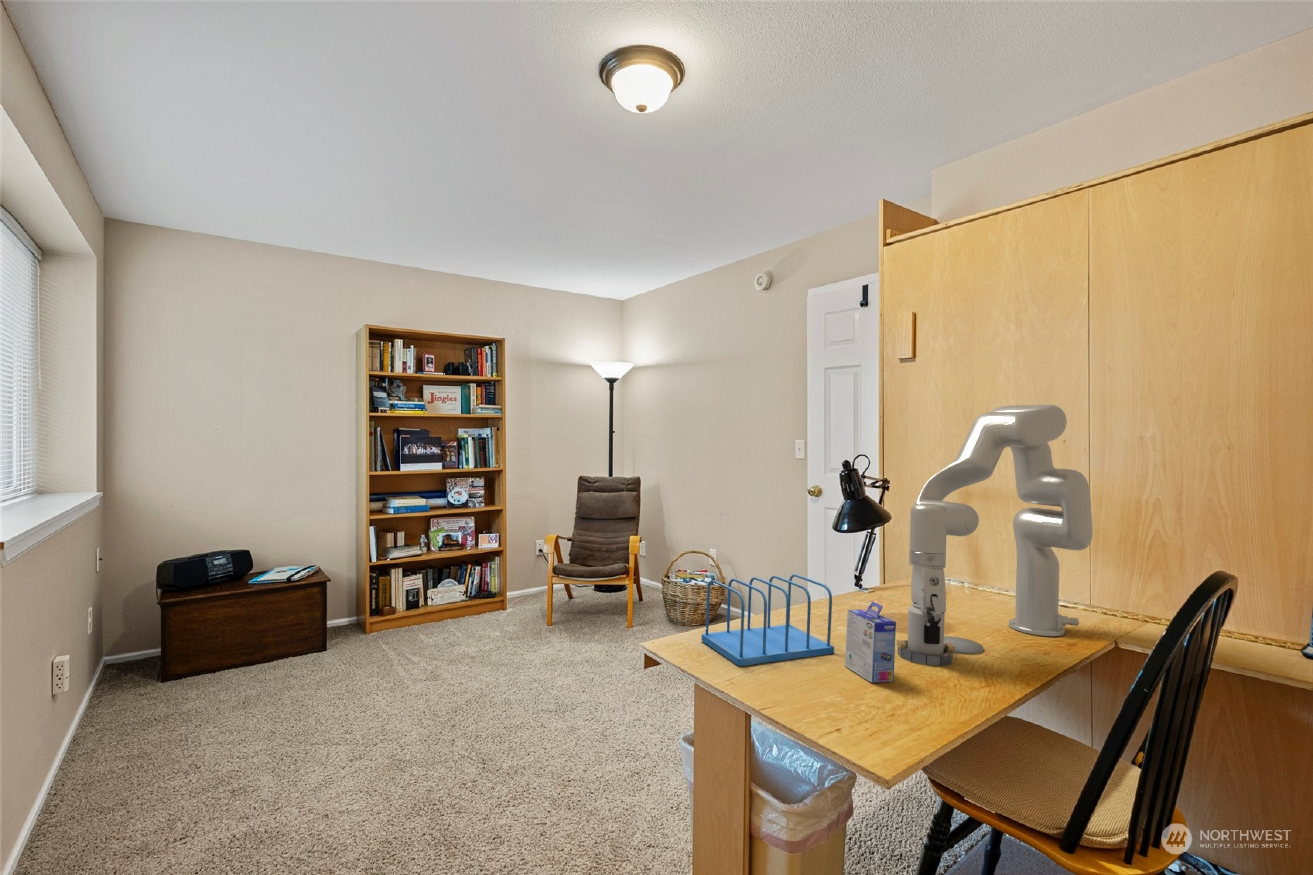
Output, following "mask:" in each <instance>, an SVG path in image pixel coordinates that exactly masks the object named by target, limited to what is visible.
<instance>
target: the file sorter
mask: <svg viewBox="0 0 1313 875" xmlns="http://www.w3.org/2000/svg"><path fill="white" fill-rule="evenodd" d="M794 578H798V579H800V580H804V581H807V582H809V583H813V584H815V585H817V586H820V587H822V588H824V589H825V590H826V591H827V593H828V616H827V636H826V637H827V639H826V641H824V640H822V639H819V638H818V637H816V636H814V635H812V634H811V630H810V629H811V605H812V604H811V603H812V601H811V600H812V599H811V594H810V592H809V590H808V588H806V587H805V586H804V585H802V584H799V583H797V582H794V581H792V580H793V579H794ZM774 579H777V580H779V581H782V582H784V583H787V585H788V587H787V588H788V590H787V591H786V589H785V588H784V587H781V586H779V585H777V584H774V583H772V582H773V580H774ZM755 580H756V581H758V582H760V583H763V584H765V585H767V586H768V590H767V595H768V597H766V594H765V592H764V591H763V590H762V589H760V588H758V587H756V586H754V585H753V582H754V581H755ZM733 582H735V583H738V584H740V585H743V586H745V587H747V588H748V600H747V601H748V604H747V607H748V608H747V628H745V601H744V596H743V595H742V593H741V592H740V591H738V590H736V589H734V588H732V584H733ZM713 583H714V584H716V585H717V586H721V587H722V588H723V589H724V588H725V589H726V590H727V607H726V608H727V610H726V612H727V613H726V614H727V615H726V631H716V632H709V628H710V627H709V624H710V623H709V622H710V596H711V594H710V593H711V585H712V584H713ZM792 586H795V587H797V588H800V589H802V590H803V591H804V592H805V593H806V594H805V595H806V596H807V613H806V614H807V615H806V616H807V617H806V618H807V620H806V631H804V630H802V629H800V628H798V627H796V626H794V625H791V622H790V621H791V594H792V593H791V592H792V591H791V590H792ZM772 588H774V589H777V590H779V591H781V592H782V593H783V594H784V595H785V602H786V605H785V606H786V607H785V624H780V625H772V626H771V608H772V607H771V606H772V605H771V603H772ZM706 590H707V591H706V609H705V613H706V614H705V616H706V617H705V633H701V642H703V643H704V644H706V645H708V646H709V647H710V648H712V649H713V650H715V651H716V652H718V653H719V654H720V655H722V656H723V657H725V658H726V659H728V660H729V661H731V662H732V663H734V664H735V665H737V666H738V667H743V666H751V665H756V664H766V663H772V662H773V663H774V662H780V661H788V660H794V659H795V660H796V659H803V658H811V657H817V656H826V655H833V654H835V646H834V645H831V634H832V633H831V632H832V630H831V629H832V614H833V613H832V610H833V609H832V608H833V594H832V591H831V589H830V587H828V586H827V585H826V584H823V583H822V582H820V581H816V580H814V579H811V578H808V577H805V576H802V575H799V574H796V573H795V574H791V575H790V577H789V579H787V578H783V577H782V576H778V575H772V576H771V577H770V578H769V580H765V579H762V578H759V577H757V576H753V577H751V579H750V580H749V582H748V583H747V582H744V581H742V580H740V579H738V578H731V579H730V580H729V582H728V585H726V584H724V583H722V582H719V581H717V580H715V579H711V580H710V581H708V584H707V588H706ZM752 590H754V591H756V592H758V593H759V594H760V595H761V596H762V599H763V624H762V625H763V626H762V627H761V626H760V627H752V628H751V616H752V615H751V613H752V612H751V610H752ZM731 593H734V594H736V595H737V596H738V597H739V599H740V603H741V604H740V606H741V613H740V614H741V615H740V629H734V630H733V629H732V630H730V626H731V624H730V621H731V620H730V619H731V617H730V616H731ZM706 628H707V629H706Z"/></svg>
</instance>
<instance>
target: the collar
mask: <svg viewBox="0 0 1313 875" xmlns="http://www.w3.org/2000/svg"><path fill="white" fill-rule="evenodd" d="M896 645H897V654H898V656H899V657H900V658H901V659H903V660H905V661H908V662H911V663H913V664H918V665H922V666H931V667H932V666H933V667H943V666H950V665H952V663H954V660H955V659H954V657H955V655H954V654H955V653H954V651H955V646H954V645H952V644H951V643H945V645H944V654H940V655H930V654H923V653H918V652H914V651H912V650H909V649H908V639H905V640H901V639H897V640H896Z"/></svg>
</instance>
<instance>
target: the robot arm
mask: <svg viewBox="0 0 1313 875" xmlns="http://www.w3.org/2000/svg"><path fill="white" fill-rule="evenodd" d="M1067 421H1068V420H1067V415H1066V413H1065V412H1064V410H1063V409H1062V408H1061V407H1060V406H1058V405H1055V404H1031V405H1030V404H1027V405H1026V404H1023V405H1022V404H1021V405H1018V404H1017V405H1003V406H1000V407H995V408H994V409H992V410H991V411H990V412H985V413H984V412H983V413H982V414H980V415H978V416H977V417H976V418H975V419H974V421H973V423H972V424H971V426H970V429H969V430H968V433H967V435H966V436H965V439H964V441H963V443H962V444H961V447H960V449H959V451H958V453H957V455H956V457H955V459H954V460H953V461H952V462H951V463H949V464H948V465H946V466H944V467H943V468H941V469H940V470H939V471H938V472H936V473H935V474H934V475H932V476H931V477H930V478H929V479H928V480H927V481H926V482H925V483H924V484H923V486H922V487H921V490H920V491H919V493H918V496H917V498H916V500H915V502H914V503H913V505H912V506H911V507H910V512H909V513H910V517H909V518H910V520H909V522H910V523H909V558H908V560H909V561H908V562H909V563H908V564H909V565H910V566H912V570H911V585H910V587H911V588H910V599H911V603H912V602H913V601H914V603H915V605H918V606H920V610H921V611H922V612H924V613H925V621H926V625H924V643H925V644H940V625H941V624H940V620H941V615H942V614H945V613H946V612H947V604H946V602H947V600H946V599H947V597H946V594H947V593H946V592H947V591H946V577H945V576H946V575H945V570H944V569H945V568H946V567H947V564H946V563H947V536H953V537H966V536H969V535H971V534H973V533H974V532H975V531H976V530H977V528H978V526H979V523H980V519H979V514H978V512H977V510H975V509H974V507H972V506H971V505H969V504H966V503H963V502H962V503H961V502H953V501H952V502H951V501H948V500H947V501H945V500H944V499H946V497H948V496H949V495H950V494H951V493H953V492H955V491H957V490H960V489H962V488H965V487H968V486H971V485H972V486H973V485H974V484H979V483H980V482H983V481H986V480H989V478H990V477H992V475H993V473H994V471H995V468H996V467H997V464H998V462H999V460H1000V457H1001V456H1002V454H1003V451H1004V450H1005V448H1010V451H1011V453H1012V458H1013V466H1014V475H1015V476H1014V478H1015V479H1014V480H1015V487H1016V492H1017V497H1018V498H1019V499H1020V501H1022V502H1024V503H1026V504H1027V503H1028V504H1032V505H1033V504H1034V505H1040V506H1050V507H1058V508H1059V507H1060V508H1061V510H1060V509H1059V510H1058V509H1053V508H1052V509H1051V508H1042V507H1026V508H1022V509H1020V510H1018V511H1017V512H1016V513H1015V515H1014V517H1013V520H1012V528H1013V533H1014V539H1015V540H1014V541H1015V545H1016V575H1015V576H1016V577H1015V579H1016V580H1015V582H1016V583H1015V618H1010V619H1009V620H1008V626H1009V627H1010V628H1011V629H1013V630H1016V631H1019V632H1022V633H1026V634H1029V635H1035V636H1043V637H1061V636H1064V635H1065V634H1066V629H1065V628H1064V627H1065V626H1066V625H1067V626H1079V625H1080V621H1079V618H1078V617H1068V616H1067V615H1062V614H1060V613H1059V602H1060V601H1059V600H1060V599H1059V597H1060V596H1059V594H1060V562H1059V559H1058V557H1057V555H1056V553H1055V552H1054V550H1053V548H1057V549H1063V550H1070V551H1083V550H1086V549H1088V548H1089V546H1090V545H1091V543H1092V540H1093V533H1094V531H1093V530H1094V529H1093V528H1094V527H1093V517H1092V504H1091V490H1090V484H1089V482H1088V480H1087V478H1086V476H1085V474H1083V473H1082V472H1081V471H1078V470H1075V469H1072V468H1071V469H1070V468H1055V466H1054V464H1053V458H1052V450H1051V446H1050V445H1049V442H1051V441H1055V440H1056V439H1058V438H1060V437H1061V436H1062V435H1063V433H1065V430H1066V428H1067V423H1068V422H1067ZM927 608H933V611H928V610H927ZM929 614H931V617H930V619H929ZM932 615H933V616H932Z"/></svg>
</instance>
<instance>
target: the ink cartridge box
mask: <svg viewBox="0 0 1313 875" xmlns="http://www.w3.org/2000/svg"><path fill="white" fill-rule="evenodd" d="M872 607H875V608H876V609H877V611H876V610H875V609H872ZM883 608H884V606H883V605H881V604H879V603H877V602H874V601H872V602H871V603H870V604H869V606H868V608H867V609H850V610H849V609H848V610H847V619H846V635H845V656H844V666H845V667H846V668H847V669H849V670H850V671H852V672H853V673H855V674H857V675H858V676H860V677H861V678H863V679H865V680H867V682H870V683H872V684H873V683H876V684H877V683H894V681H895V662H896V660H895V658H896V657H895V656H896V634H897V633H896V632H897V631H896V630H897V629H896V628H897V621H896V620H893V619H891V618H889V617H886V616H884V615H881V612H882V611H883V610H882V609H883Z"/></svg>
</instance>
